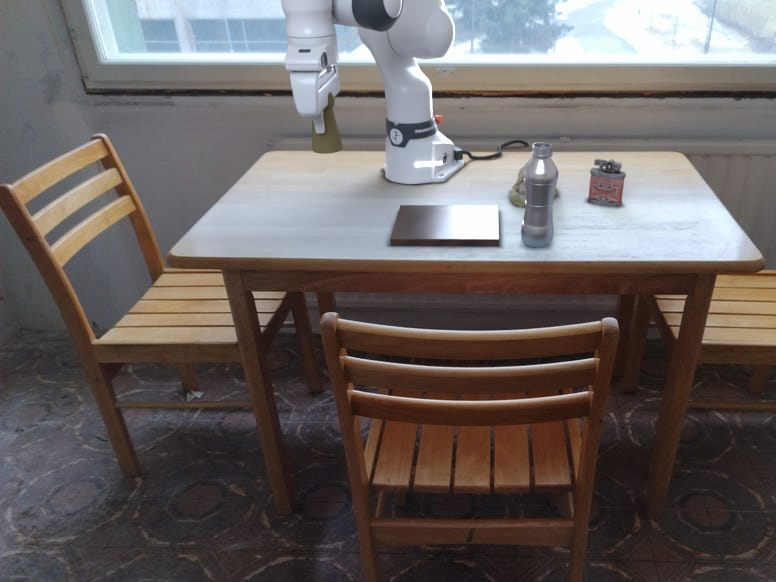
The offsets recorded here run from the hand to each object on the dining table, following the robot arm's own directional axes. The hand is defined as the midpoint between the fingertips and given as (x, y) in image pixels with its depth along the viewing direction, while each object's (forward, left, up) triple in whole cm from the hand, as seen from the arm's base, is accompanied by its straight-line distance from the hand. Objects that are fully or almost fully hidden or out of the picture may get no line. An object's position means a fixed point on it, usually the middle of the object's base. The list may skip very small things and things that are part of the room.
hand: (324, 127), depth 128 cm
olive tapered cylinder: (0, 0, -4) cm, 4 cm away
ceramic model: (-37, +27, -21) cm, 51 cm away
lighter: (-42, +44, -21) cm, 64 cm away
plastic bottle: (-14, +41, -21) cm, 48 cm away
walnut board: (-11, +21, -21) cm, 31 cm away
